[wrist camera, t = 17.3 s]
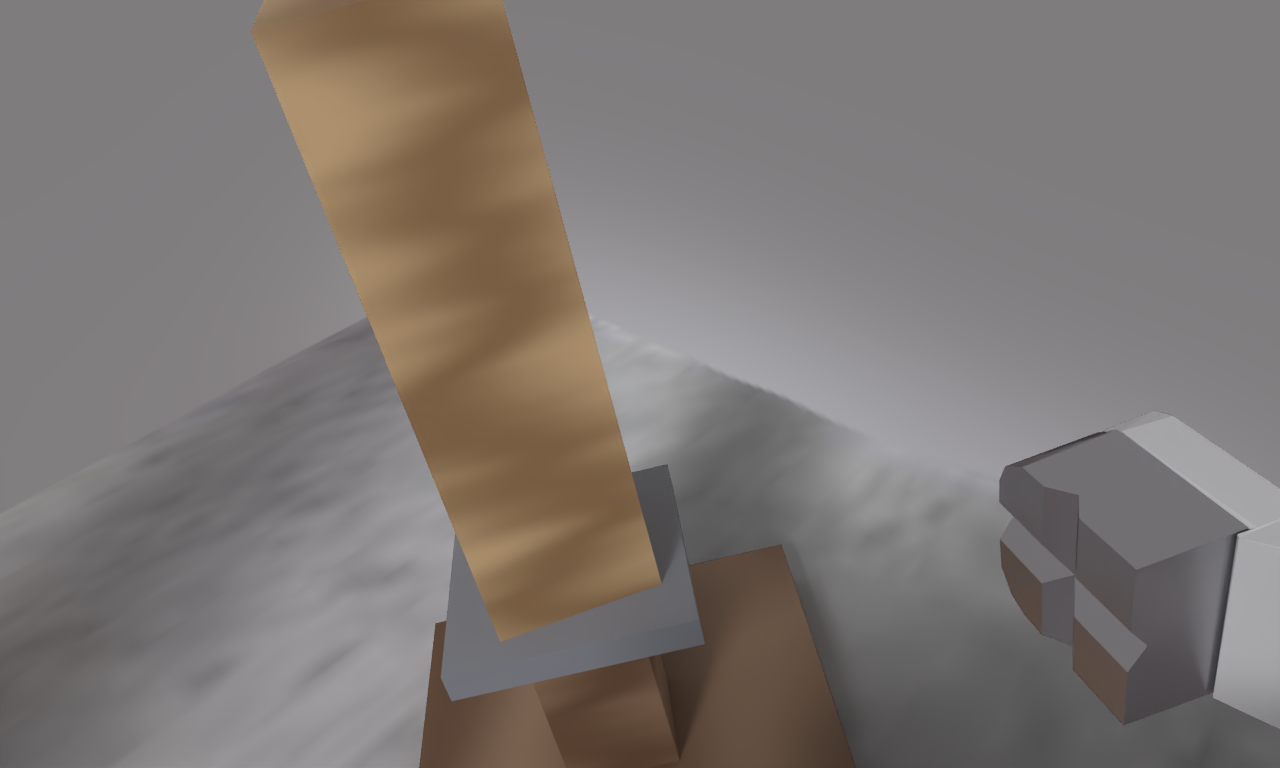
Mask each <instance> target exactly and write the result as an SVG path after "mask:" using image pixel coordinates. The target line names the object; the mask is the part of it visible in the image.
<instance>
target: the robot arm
mask: <svg viewBox="0 0 1280 768" xmlns="http://www.w3.org/2000/svg"><path fill="white" fill-rule="evenodd" d="M999 502H1000V503H1001V504H1002V505H1003V506H1004V507H1005V508H1006V509H1007V510H1008V511H1009V512H1010V513H1011V514H1012V515H1013V516H1014V517H1013V519H1012V520H1011V522H1010V523H1009V525H1008V527H1007V528H1006V530H1005V532H1004V533H1003V535H1002V537H1001V538H1000V547H1001V563H1002V569H1003V572H1004V574H1005V577H1006V580H1007V583H1008V585H1009V588H1010V591H1011V594H1012V595H1013V597H1014V599H1015V600H1016V602H1017V604H1018V605H1019V607H1020V608H1021V610H1022V612H1023V613H1024V615H1025V616H1026V617H1027V618H1028V619H1029V620H1030V622H1031V623H1032V624H1033V625H1034V626H1035V627H1036V629H1037V630H1038V631H1039V632H1040V633H1041V634H1042V635H1045V636H1048V637H1050V638H1053V639H1056V640H1058V641H1061V642H1064V643H1066V644H1069V645H1072V646H1073V670H1074V671H1075V672H1076V673H1077V674H1078V676H1079V677H1080V678H1081V679H1082V680H1083V681H1084V682H1085V683H1086V684H1087V685H1088V687H1089V688H1090V689H1091V690H1092V691H1093V692H1094V693H1095V694H1096V695H1097V697H1098V698H1099V699H1100V700H1101V701H1102V702H1103V703H1104V704H1105V705H1106V706H1107V708H1108V709H1109V710H1110V711H1111V712H1112V713H1113V714H1114V715H1115V716H1116V717H1117V719H1118V720H1119V721H1120V722H1121V723H1122V724H1123V725H1126V724H1128V723H1131V722H1134V721H1136V720H1139V719H1142V718H1145V717H1147V716H1150V715H1153V714H1155V713H1158V712H1161V711H1164V710H1166V709H1169V708H1172V707H1174V706H1177V705H1180V704H1183V703H1185V702H1188V701H1191V700H1193V699H1196V698H1199V697H1202V696H1204V695H1207V694H1210V693H1212V692H1214V693H1213V698H1214V699H1217V700H1219V701H1221V702H1223V703H1225V704H1227V705H1229V706H1231V707H1234V708H1236V709H1238V710H1240V711H1242V712H1244V713H1246V714H1248V715H1251V716H1253V717H1255V718H1257V719H1259V720H1261V721H1263V722H1265V723H1268V724H1270V725H1272V726H1274V727H1276V728H1278V729H1280V488H1278V487H1277V486H1276V485H1274V484H1273V483H1271V482H1270V481H1268V480H1267V479H1265V478H1264V477H1262V476H1261V475H1259V474H1258V473H1256V472H1255V471H1253V470H1252V469H1250V468H1249V467H1248V466H1246V465H1245V464H1243V463H1241V462H1240V461H1239V460H1237V459H1236V458H1234V457H1233V456H1231V455H1230V454H1228V453H1227V452H1225V451H1224V450H1222V449H1221V448H1220V447H1218V446H1217V445H1215V444H1214V443H1212V442H1211V441H1209V440H1208V439H1206V438H1205V437H1203V436H1202V435H1200V434H1199V433H1197V432H1196V431H1195V430H1193V429H1192V428H1190V427H1189V426H1187V425H1186V424H1184V423H1183V422H1181V421H1180V420H1178V419H1177V418H1175V417H1174V416H1172V415H1170V414H1166V413H1162V412H1158V411H1153V412H1150V413H1147V414H1145V415H1142V416H1140V417H1137V418H1134V419H1131V420H1129V421H1126V422H1124V423H1120V424H1118V425H1115V426H1113V427H1110V428H1107V429H1105V430H1104V431H1103V432H1099V433H1095V434H1092V435H1089V436H1087V437H1084V438H1081V439H1079V440H1076V441H1073V442H1070V443H1068V444H1065V445H1062V446H1059V447H1057V448H1054V449H1052V450H1049V451H1046V452H1044V453H1040V454H1038V455H1035V456H1032V457H1030V458H1027V459H1024V460H1022V461H1019V462H1016V463H1013V464H1011V465H1008V466H1006V467H1005V469H1004V471H1003V473H1002V476H1001V478H1000V490H999Z"/></svg>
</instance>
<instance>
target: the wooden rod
mask: <svg viewBox="0 0 1280 768" xmlns="http://www.w3.org/2000/svg"><path fill="white" fill-rule="evenodd" d="M251 32H252V35H253V37H254V40H255V42H256V45H257V47H258V50H259V52H260V54H261V57H262V59H263V62H264V64H265V67H266V69H267V72H268V74H269V77H270V79H271V81H272V84H273V86H274V89H275V91H276V94H277V96H278V99H279V101H280V104H281V106H282V108H283V111H284V113H285V116H286V118H287V120H288V123H289V126H290V128H291V130H292V133H293V135H294V138H295V140H296V143H297V145H298V148H299V150H300V153H301V155H302V157H303V160H304V162H305V165H306V167H307V170H308V172H309V175H310V177H311V180H312V182H313V184H314V187H315V189H316V192H317V194H318V197H319V199H320V201H321V204H322V207H323V209H324V211H325V214H326V216H327V219H328V221H329V223H330V226H331V229H332V231H333V234H334V236H335V238H336V241H337V243H338V246H339V248H340V250H341V253H342V256H343V258H344V260H345V263H346V265H347V268H348V270H349V273H350V275H351V278H352V280H353V282H354V285H355V287H356V290H357V292H358V295H359V297H360V300H361V302H362V305H363V307H364V310H365V312H366V314H367V317H368V319H369V322H370V324H371V327H372V329H373V332H374V334H375V337H376V339H377V341H378V344H379V346H380V349H381V351H382V354H383V356H384V359H385V361H386V363H387V366H388V368H389V371H390V373H391V376H392V378H393V381H394V383H395V386H396V388H397V390H398V393H399V395H400V398H401V400H402V403H403V405H404V408H405V410H406V413H407V415H408V417H409V420H410V422H411V425H412V427H413V430H414V432H415V435H416V437H417V439H418V442H419V444H420V447H421V449H422V452H423V454H424V457H425V459H426V462H427V464H428V466H429V469H430V471H431V474H432V476H433V479H434V481H435V484H436V486H437V489H438V491H439V493H440V496H441V498H442V501H443V503H444V506H445V508H446V511H447V513H448V515H449V518H450V520H451V523H452V525H453V528H454V530H455V533H456V535H457V538H458V540H459V542H460V545H461V547H462V550H463V552H464V555H465V557H466V560H467V562H468V565H469V567H470V569H471V572H472V574H473V577H474V579H475V582H476V584H477V587H478V589H479V591H480V594H481V596H482V599H483V601H484V604H485V606H486V609H487V611H488V614H489V616H490V618H491V621H492V623H493V626H494V628H495V631H496V633H497V636H498V638H499V641H500V642H502V641H504V640H507V639H510V638H513V637H515V636H518V635H521V634H524V633H527V632H529V631H532V630H535V629H538V628H540V627H543V626H546V625H549V624H551V623H554V622H557V621H560V620H563V619H565V618H568V617H571V616H574V615H576V614H579V613H582V612H585V611H587V610H590V609H593V608H596V607H599V606H601V605H604V604H607V603H610V602H612V601H615V600H618V599H621V598H623V597H626V596H629V595H632V594H634V593H637V592H640V591H643V590H646V589H648V588H651V587H654V586H657V585H659V584H662V583H661V579H660V576H659V572H658V568H657V565H656V561H655V557H654V554H653V550H652V546H651V543H650V539H649V535H648V532H647V528H646V524H645V521H644V517H643V513H642V510H641V506H640V502H639V499H638V495H637V491H636V488H635V484H634V480H633V477H632V473H631V469H630V466H629V462H628V458H627V455H626V451H625V447H624V444H623V440H622V436H621V433H620V429H619V425H618V422H617V418H616V414H615V411H614V407H613V403H612V400H611V396H610V392H609V389H608V385H607V381H606V378H605V374H604V371H603V367H602V363H601V360H600V356H599V352H598V349H597V345H596V341H595V338H594V334H593V330H592V327H591V323H590V319H589V316H588V312H587V308H586V305H585V301H584V297H583V294H582V290H581V286H580V283H579V279H578V276H577V272H576V268H575V264H574V261H573V257H572V253H571V250H570V246H569V242H568V239H567V235H566V232H565V228H564V224H563V221H562V217H561V213H560V210H559V206H558V202H557V198H556V195H555V192H554V188H553V184H552V180H551V176H550V173H549V169H548V165H547V162H546V158H545V155H544V151H543V147H542V144H541V140H540V136H539V133H538V129H537V125H536V122H535V118H534V114H533V111H532V107H531V103H530V100H529V96H528V93H527V89H526V85H525V82H524V78H523V74H522V70H521V67H520V63H519V59H518V56H517V52H516V49H515V45H514V41H513V37H512V34H511V30H510V26H509V23H508V20H507V15H506V12H505V8H504V5H503V1H502V0H264V1H263V4H262V6H261V9H260V11H259V13H258V16H257V18H256V20H255V23H254V25H253V28H252V30H251Z"/></svg>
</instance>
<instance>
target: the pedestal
mask: <svg viewBox="0 0 1280 768" xmlns="http://www.w3.org/2000/svg"><path fill="white" fill-rule="evenodd" d="M632 477H633V480H634V484H635V488H636V491H637V495H638V499H639V502H640V506H641V510H642V513H643V517H644V521H645V524H646V528H647V532H648V535H649V539H650V543H651V546H652V550H653V554H654V557H655V561H656V565H657V568H658V572H659V576H660V579H661V583H662V584H659V585H657V586H654V587H651V588H648V589H646V590H643V591H640V592H637V593H634V594H632V595H629V596H626V597H623V598H621V599H618V600H615V601H612V602H610V603H607V604H604V605H601V606H599V607H596V608H593V609H590V610H587V611H585V612H582V613H579V614H576V615H574V616H571V617H568V618H565V619H563V620H560V621H557V622H554V623H551V624H549V625H546V626H543V627H540V628H538V629H535V630H532V631H529V632H527V633H524V634H521V635H518V636H515V637H513V638H510V639H507V640H504V641H502V642H500V641H499V638H498V636H497V633H496V631H495V628H494V626H493V623H492V621H491V618H490V616H489V614H488V611H487V609H486V606H485V604H484V601H483V599H482V596H481V594H480V591H479V589H478V587H477V584H476V582H475V579H474V577H473V574H472V572H471V569H470V567H469V565H468V562H467V560H466V557H465V555H464V552H463V550H462V547H461V545H460V542H459V540H458V538H457V535H456V533H455V541H454V551H453V561H452V571H451V581H450V591H449V601H448V611H447V621H444V622H440V623H436V625H435V634H434V643H433V652H432V661H431V669H430V678H429V687H428V696H427V705H426V714H425V722H424V731H423V740H422V749H421V758H420V767H419V768H856V767H855V764H854V761H853V758H852V755H851V752H850V749H849V746H848V743H847V740H846V737H845V734H844V731H843V728H842V725H841V722H840V719H839V716H838V713H837V710H836V707H835V704H834V701H833V698H832V695H831V692H830V689H829V686H828V683H827V680H826V677H825V674H824V671H823V668H822V665H821V662H820V659H819V656H818V653H817V650H816V647H815V644H814V641H813V638H812V635H811V632H810V629H809V626H808V623H807V620H806V617H805V614H804V611H803V608H802V605H801V602H800V599H799V596H798V593H797V590H796V587H795V584H794V581H793V578H792V575H791V572H790V569H789V566H788V563H787V560H786V557H785V554H784V551H783V548H782V545H777V546H772V547H768V548H764V549H759V550H755V551H750V552H746V553H742V554H737V555H733V556H729V557H724V558H720V559H715V560H711V561H707V562H702V563H698V564H694V565H689V564H688V559H687V554H686V549H685V544H684V539H683V534H682V530H681V525H680V520H679V515H678V510H677V505H676V500H675V495H674V491H673V486H672V482H671V478H670V474H669V470H668V466H667V465H663V466H658V467H654V468H650V469H645V470H641V471H637V472H632Z"/></svg>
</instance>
